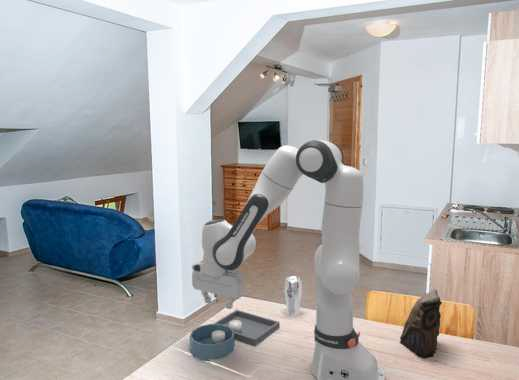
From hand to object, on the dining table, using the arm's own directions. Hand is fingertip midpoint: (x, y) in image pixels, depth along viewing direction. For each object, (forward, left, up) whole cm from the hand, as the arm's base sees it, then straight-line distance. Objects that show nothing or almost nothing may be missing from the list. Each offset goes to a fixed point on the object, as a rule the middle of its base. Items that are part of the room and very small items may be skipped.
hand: (218, 305), depth 146 cm
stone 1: (0, 0, -14) cm, 14 cm away
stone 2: (0, -10, -14) cm, 17 cm away
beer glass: (-10, -35, -15) cm, 39 cm away
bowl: (0, +3, -15) cm, 15 cm away
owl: (-59, -36, -15) cm, 71 cm away
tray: (-2, -13, -15) cm, 20 cm away
